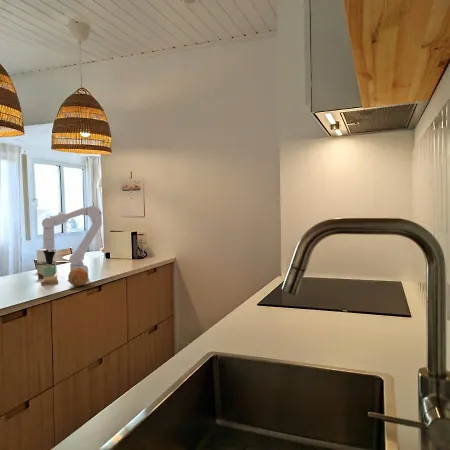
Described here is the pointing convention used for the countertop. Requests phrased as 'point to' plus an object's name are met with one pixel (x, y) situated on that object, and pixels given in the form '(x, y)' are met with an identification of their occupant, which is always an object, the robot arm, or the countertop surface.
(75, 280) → the onion
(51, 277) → the oak slab
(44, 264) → the food container
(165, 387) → the countertop surface
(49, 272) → the green cube
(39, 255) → the supplement box
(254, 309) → the countertop surface
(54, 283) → the walnut slab
